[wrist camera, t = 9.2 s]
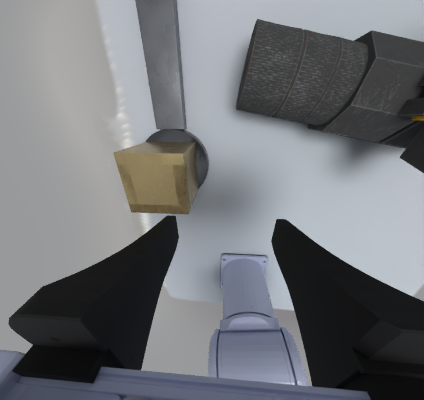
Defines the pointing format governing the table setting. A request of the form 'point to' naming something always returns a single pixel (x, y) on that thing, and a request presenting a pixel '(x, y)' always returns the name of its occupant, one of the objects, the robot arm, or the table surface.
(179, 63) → the ratchet
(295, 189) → the table surface
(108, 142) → the table surface
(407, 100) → the laser sight
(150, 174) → the wood grain cube
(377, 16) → the table surface
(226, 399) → the robot arm
